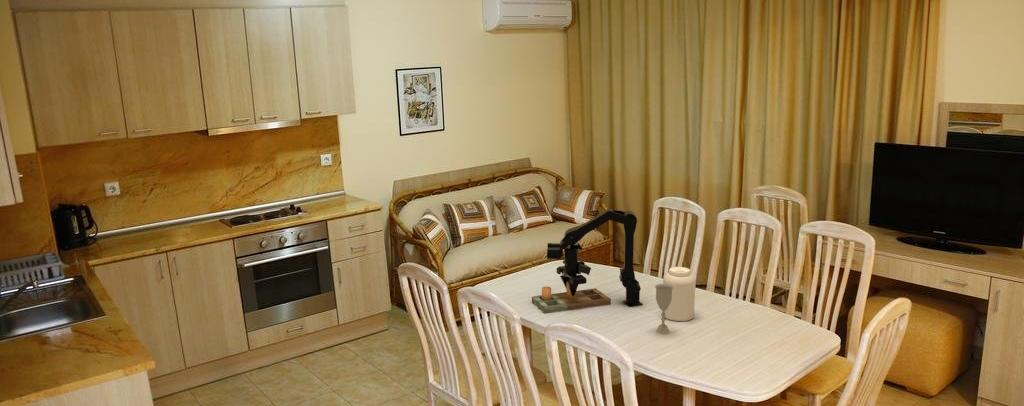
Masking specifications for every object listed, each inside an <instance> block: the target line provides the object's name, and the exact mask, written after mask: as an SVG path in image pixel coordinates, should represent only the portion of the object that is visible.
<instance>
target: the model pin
mask: <svg viewBox="0 0 1024 406" xmlns="http://www.w3.org/2000/svg"><path fill="white" fill-rule="evenodd" d="M551 294H552V287H550V286H542V287H541V295H542V301H547V300H551Z"/></svg>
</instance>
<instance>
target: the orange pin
mask: <svg viewBox="0 0 1024 406" xmlns="http://www.w3.org/2000/svg"><path fill="white" fill-rule="evenodd" d="M565 290H566V291H565V292H566V298H567V299H575V298H576V293H575V296H572V295H571V292H570V289H569V285H568V282H566V287H565Z"/></svg>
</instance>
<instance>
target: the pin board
mask: <svg viewBox="0 0 1024 406" xmlns="http://www.w3.org/2000/svg"><path fill="white" fill-rule="evenodd" d="M611 302H612V298H610V297H609V296H607V295H606V294H605V293H603V292H601V291H600V290H599V289H597V288H589V289H588V288H587V289H580V290H576V298H575V299H567V298H566V291H565V292H557V293H551V300H547V301H542V294H541V295H534V296H531V303H532V304H534V305H535V306H536V307H537V309H539V310H540V311H541V312H543V313H544V314H552V313H560V312H565V311H566V312H567V311H573V310H579V309H580V310H581V309H587V308H594V307H595V308H596V307H603V306H610V305H611V304H612V303H611Z"/></svg>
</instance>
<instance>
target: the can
mask: <svg viewBox="0 0 1024 406" xmlns="http://www.w3.org/2000/svg"><path fill="white" fill-rule="evenodd" d="M662 284H670V285H672V286H673V289H672V300H671V302H670V305H669V307H668V308H667V310H665V319H667V320H669V321H675V322H685V321H686V322H687V321H690V320H693V319H694V317H695V305H696V304H695V300H696V299H695V297H696V278H695V276H694V275H693V274H692V271H691V269H690V268H688V267H684V266H672V267H670V268H669V269H668V272H667V273H665V275H664V277H663V283H662Z"/></svg>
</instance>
